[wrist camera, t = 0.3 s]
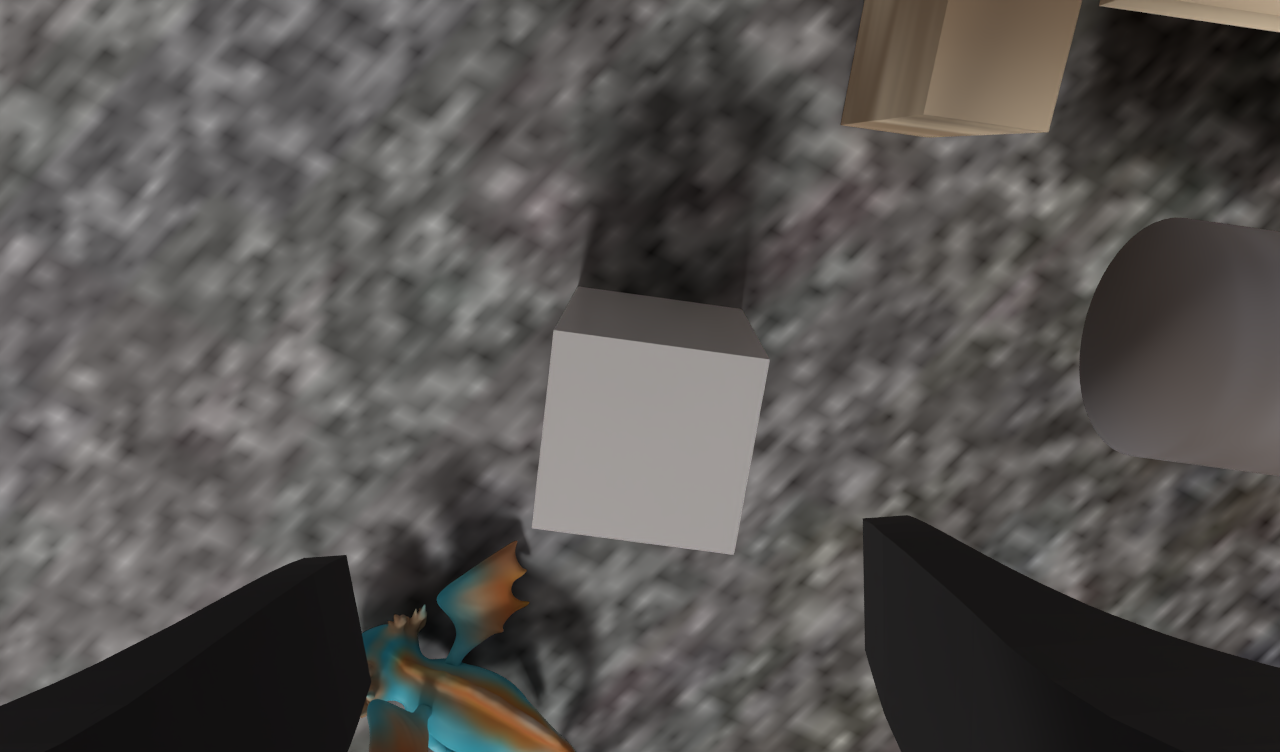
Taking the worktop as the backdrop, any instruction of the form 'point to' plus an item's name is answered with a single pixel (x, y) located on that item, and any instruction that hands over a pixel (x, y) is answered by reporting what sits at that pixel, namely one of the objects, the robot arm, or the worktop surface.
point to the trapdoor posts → (959, 66)
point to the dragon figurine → (453, 676)
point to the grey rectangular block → (649, 421)
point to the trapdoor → (1190, 322)
